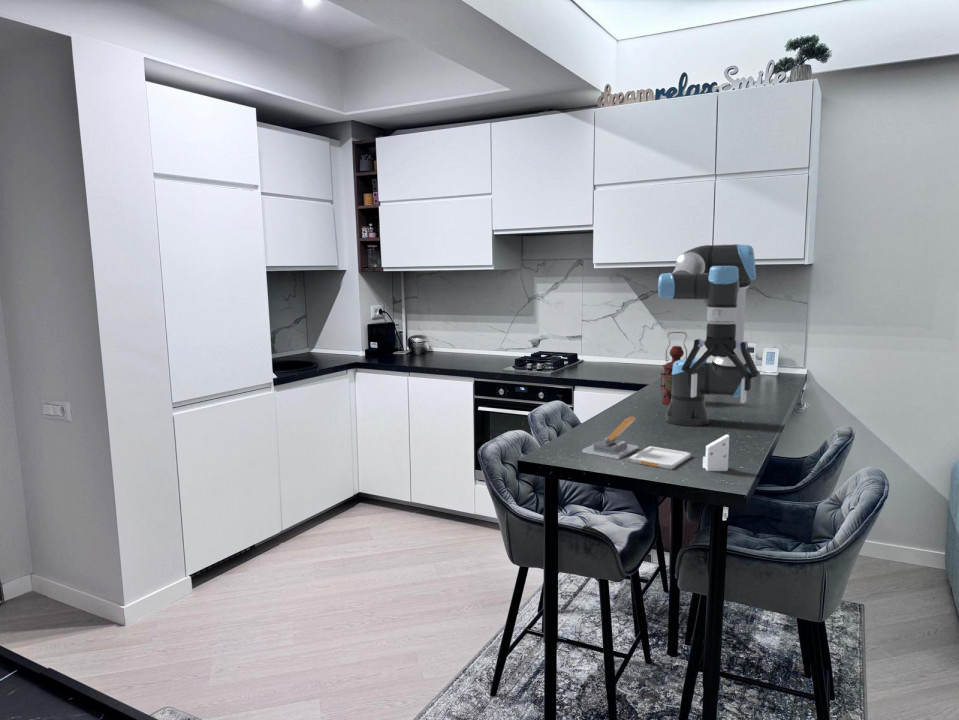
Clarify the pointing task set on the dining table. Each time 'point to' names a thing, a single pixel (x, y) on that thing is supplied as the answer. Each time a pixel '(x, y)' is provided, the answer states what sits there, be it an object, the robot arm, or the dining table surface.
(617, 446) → the panel
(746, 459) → the dining table surface
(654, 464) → the tray
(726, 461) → the white wedge bracket
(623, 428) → the block
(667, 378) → the lantern
